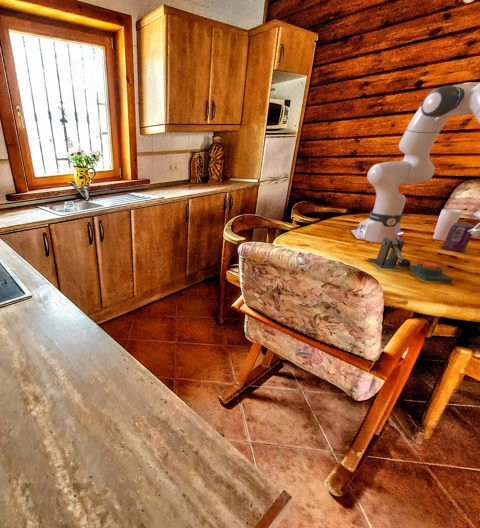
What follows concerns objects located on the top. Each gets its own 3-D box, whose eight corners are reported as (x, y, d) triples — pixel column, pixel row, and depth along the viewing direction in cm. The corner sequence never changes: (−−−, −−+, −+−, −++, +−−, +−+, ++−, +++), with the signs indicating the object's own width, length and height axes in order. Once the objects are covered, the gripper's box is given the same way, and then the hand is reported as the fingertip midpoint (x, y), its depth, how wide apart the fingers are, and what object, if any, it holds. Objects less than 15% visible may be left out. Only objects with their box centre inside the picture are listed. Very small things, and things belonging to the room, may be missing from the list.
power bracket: (403, 271, 112) (414, 244, 107) (379, 270, 114) (389, 243, 109) (389, 261, 121) (398, 236, 116) (367, 260, 123) (375, 235, 118)
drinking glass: (434, 240, 140) (446, 211, 134) (427, 236, 145) (438, 208, 139) (452, 241, 137) (465, 212, 131) (444, 237, 143) (456, 209, 137)
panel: (403, 269, 114) (406, 260, 112) (427, 270, 112) (431, 261, 110) (423, 282, 103) (427, 273, 102) (450, 284, 101) (454, 274, 100)
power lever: (409, 270, 106) (414, 263, 104) (397, 269, 107) (403, 263, 105) (394, 244, 115) (398, 238, 113) (383, 244, 116) (388, 238, 114)
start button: (419, 265, 108) (420, 261, 108) (431, 266, 107) (433, 262, 107) (426, 270, 105) (428, 265, 104) (439, 270, 104) (441, 266, 103)
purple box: (468, 252, 125) (481, 226, 120) (449, 252, 127) (461, 226, 122) (455, 246, 132) (466, 222, 127) (437, 246, 133) (447, 222, 128)
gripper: (503, 192, 94) (451, 218, 103) (543, 208, 79) (478, 237, 88) (517, 205, 94) (464, 230, 103) (560, 223, 78) (493, 251, 87)
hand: (470, 234), depth 95 cm, fingers closed
